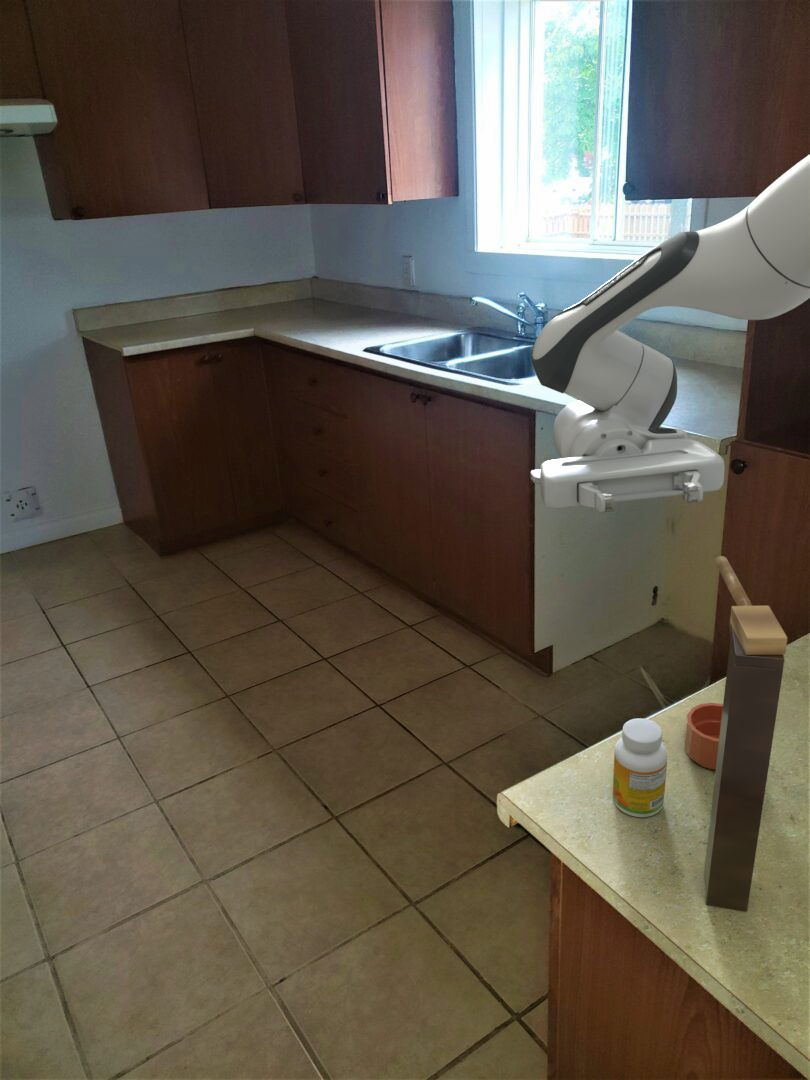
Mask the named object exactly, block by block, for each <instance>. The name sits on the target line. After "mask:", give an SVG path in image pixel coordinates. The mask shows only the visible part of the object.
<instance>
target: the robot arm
mask: <svg viewBox="0 0 810 1080" xmlns="http://www.w3.org/2000/svg"><path fill="white" fill-rule="evenodd" d="M809 299H810V153H809V154H808V155H806V156H805V157H804V158H802V159H801V160H800V161H798V162H797V163H796V164H794V165H793V166H791V167H790V168H789V169H788V170H786V171H785V172H784V173H782V174H781V175H780V176H779V177H778V178H777V179H775V180H774V181H773V182H772V183H771V184H770V185H768V186H767V187H766V188H765V189H764V190H763V191H762V192H761V193H759V195H757V196H756V197H755V198H754V199H753V200H752V202H750V203H749V204H748V205H746V207H745V208H743V209H742V210H741V211H739V212H737V213H736V214H734V215H732V216H731V217H729V218H727V219H725V220H723V221H721V222H719V223H717V224H714V225H712V226H711V225H710V226H709V227H705V228H703V229H698V230H692V231H691V230H690V231H689V230H688V231H679V232H677V233H674V234H673V235H670V236H669V237H667V238H666V239H663V240H662V241H661V242H660V243H658V244H656V245H655V246H654V247H652V248H651V249H649V250H648V251H646V252H645V253H644V254H643V255H641V256H639V257H638V258H637V259H635V260H634V261H633V262H631V264H629V265H627V266H626V267H625V268H623V269H622V270H621V271H619V272H618V273H617V274H615V275H614V276H613V277H612V278H610V279H609V280H608V281H606V282H605V283H603V284H602V285H601V286H600V287H598V288H597V289H596V290H594V291H593V292H591V293H590V294H589V295H588V296H586V297H585V298H583V299H582V300H580V301H579V302H577V303H576V304H573V305H572V306H569V307H568V308H565V309H563V310H562V311H560V312H557V314H555V315H554V316H553V317H551V318H550V319H549V320H548V322H547V323H546V324H545V325H544V326H543V328H542V329H541V330H540V332H539V334H538V335H537V337H536V339H535V341H534V343H533V346H532V349H531V353H530V359H531V364H532V367H533V370H534V373H535V375H536V378H537V379H538V382H539V384H540V385H541V386H542V387H546V388H548V389H551V390H553V391H555V392H557V393H561V394H565V395H567V396H568V397H571V398H573V399H575V400H577V401H574V402H571V403H569V404H567V405H566V406H564V407H563V408H562V409H561V410H560V411H559V412H558V414H557V415H556V417H555V420H554V423H553V428H552V439H553V444H554V447H555V450H556V452H557V454H558V455H559V457H560V458H556V459H550V460H549V459H548V460H546V461H544V462H542V463H541V465H540V466H539V468H538V469H532V470H530V473H529V478H530V480H531V481H532V483H534V484H536V485H539V486H540V496H541V500H542V502H543V505H544V506H545V507H547V508H550V509H554V510H559V509H560V510H561V509H567V508H577V507H588V508H592V509H596V511H597V512H598V513H599V514H600V513H601V514H602V513H608V512H615V511H614V510H615V506H614V504H615V503H621V502H630V501H639V500H640V501H641V500H649V499H658V498H666V497H674V496H682V499H683V500H684V501H685V502H686V503H687V504H691V503H700V502H703V500H704V493H712V492H717V491H719V490H721V488H722V487H723V486H724V480H725V461H724V458H723V457H722V456H721V455H720V454H719V453H717V452H716V451H715V450H713V449H712V448H711V447H709V446H708V445H705V444H703V442H700V441H697V440H694V439H690V438H688V433H687V431H686V430H684V429H681V428H671V427H661V426H662V425H663V423H664V422H665V421H666V419H667V418H668V416H669V415H670V413H671V411H672V409H673V407H674V405H675V403H676V400H677V396H678V374H677V373H678V372H677V369H676V365H675V363H674V361H673V359H672V358H671V357H668V356H666V354H663V353H662V352H659V351H658V350H656V349H654V348H652V347H650V346H648V345H647V344H645V343H643V342H640V341H639V340H637V339H635V338H633V337H630V336H629V335H627V334H626V333H624V332H622V331H620V329H621V328H623V327H624V326H626V325H627V324H629V323H630V322H632V321H633V320H634V319H637V318H638V317H639V316H640V315H642V314H643V313H645V312H647V311H650V310H652V309H656V308H662V307H663V308H664V307H678V308H685V309H686V308H687V309H693V310H700V311H703V312H709V313H713V314H716V315H717V314H718V315H720V316H725V317H728V318H732V319H736V320H746V321H762V320H769V319H773V318H776V317H779V316H781V315H783V314H786V313H788V312H790V311H791V310H794V309H795V308H797V307H798V306H800V305H802V304H804V302H806V301H807V300H809Z"/></svg>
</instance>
